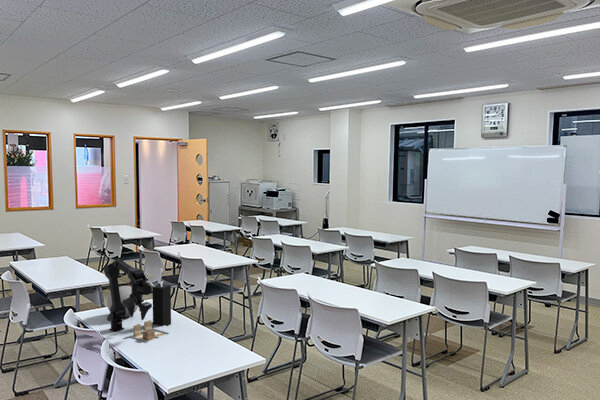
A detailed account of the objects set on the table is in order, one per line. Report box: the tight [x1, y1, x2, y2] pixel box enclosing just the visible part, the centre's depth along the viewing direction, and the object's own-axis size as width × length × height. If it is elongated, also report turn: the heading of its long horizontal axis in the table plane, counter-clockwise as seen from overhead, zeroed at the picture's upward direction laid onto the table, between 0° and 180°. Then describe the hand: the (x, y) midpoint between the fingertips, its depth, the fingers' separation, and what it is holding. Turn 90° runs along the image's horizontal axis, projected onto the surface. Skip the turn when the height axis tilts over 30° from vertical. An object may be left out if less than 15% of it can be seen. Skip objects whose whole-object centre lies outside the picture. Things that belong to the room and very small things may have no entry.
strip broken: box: [143, 319, 166, 338], centre depth 263 cm, size 13×5×7 cm, turn 58°
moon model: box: [106, 285, 139, 318], centre depth 296 cm, size 20×20×20 cm
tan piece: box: [132, 323, 156, 342], centre depth 256 cm, size 13×5×7 cm, turn 58°
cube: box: [142, 329, 156, 342], centre depth 254 cm, size 4×4×4 cm
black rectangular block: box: [151, 280, 172, 327], centre depth 279 cm, size 8×8×28 cm
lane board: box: [128, 327, 170, 343], centre depth 260 cm, size 15×16×2 cm
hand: (137, 318), depth 259 cm, fingers open, 9 cm apart
